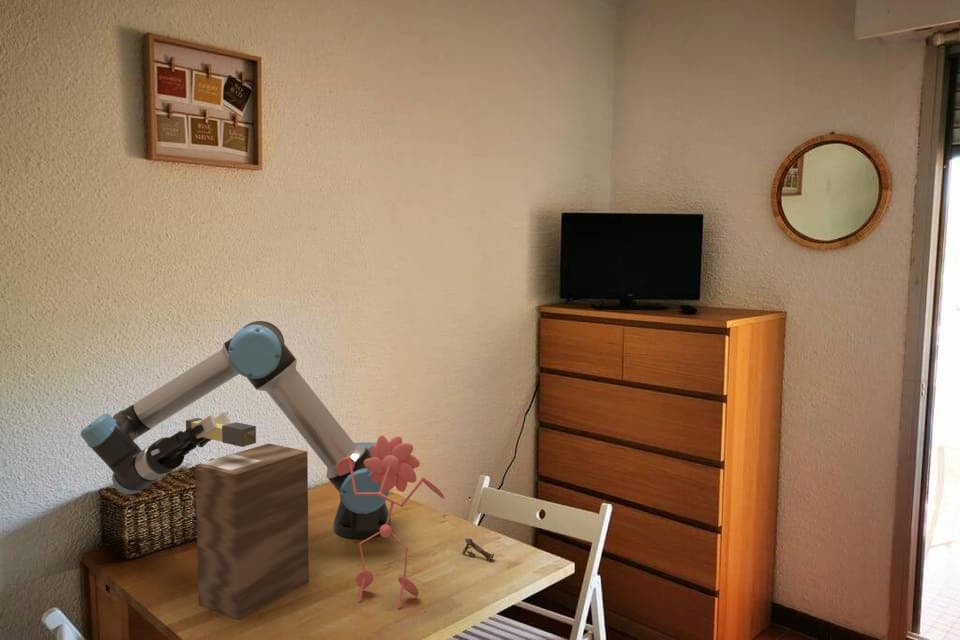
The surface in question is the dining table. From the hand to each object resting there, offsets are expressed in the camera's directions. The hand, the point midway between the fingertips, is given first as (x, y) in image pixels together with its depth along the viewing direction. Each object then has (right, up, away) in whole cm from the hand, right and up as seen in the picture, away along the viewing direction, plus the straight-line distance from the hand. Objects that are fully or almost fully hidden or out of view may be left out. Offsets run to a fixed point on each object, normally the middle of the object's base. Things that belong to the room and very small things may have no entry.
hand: (220, 419), depth 155 cm
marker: (0, -4, 0) cm, 4 cm away
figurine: (+36, -39, +6) cm, 53 cm away
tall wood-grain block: (+6, -38, +4) cm, 39 cm away
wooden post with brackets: (+54, -37, +23) cm, 70 cm away
